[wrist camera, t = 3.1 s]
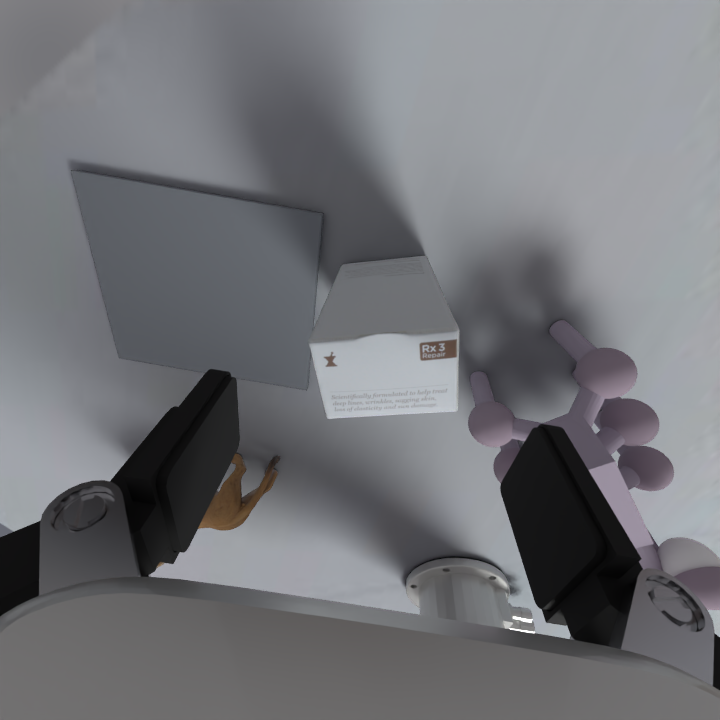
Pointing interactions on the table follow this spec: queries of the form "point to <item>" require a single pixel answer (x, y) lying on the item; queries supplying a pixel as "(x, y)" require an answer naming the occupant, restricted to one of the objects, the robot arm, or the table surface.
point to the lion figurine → (235, 498)
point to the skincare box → (386, 342)
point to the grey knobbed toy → (606, 452)
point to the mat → (204, 277)
